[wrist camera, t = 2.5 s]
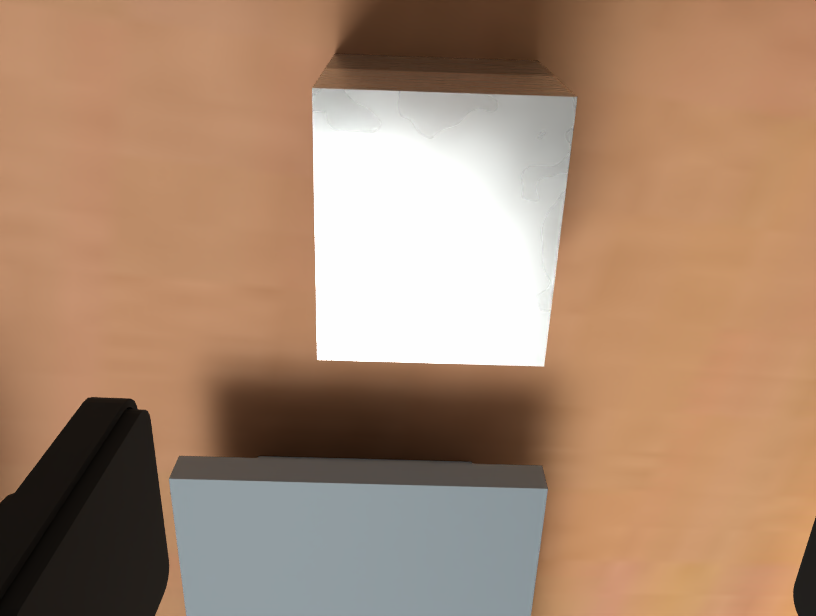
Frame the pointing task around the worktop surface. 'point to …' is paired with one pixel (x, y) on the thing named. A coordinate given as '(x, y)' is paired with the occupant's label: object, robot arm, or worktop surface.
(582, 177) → the worktop surface
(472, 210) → the block
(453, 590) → the stand
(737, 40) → the worktop surface
